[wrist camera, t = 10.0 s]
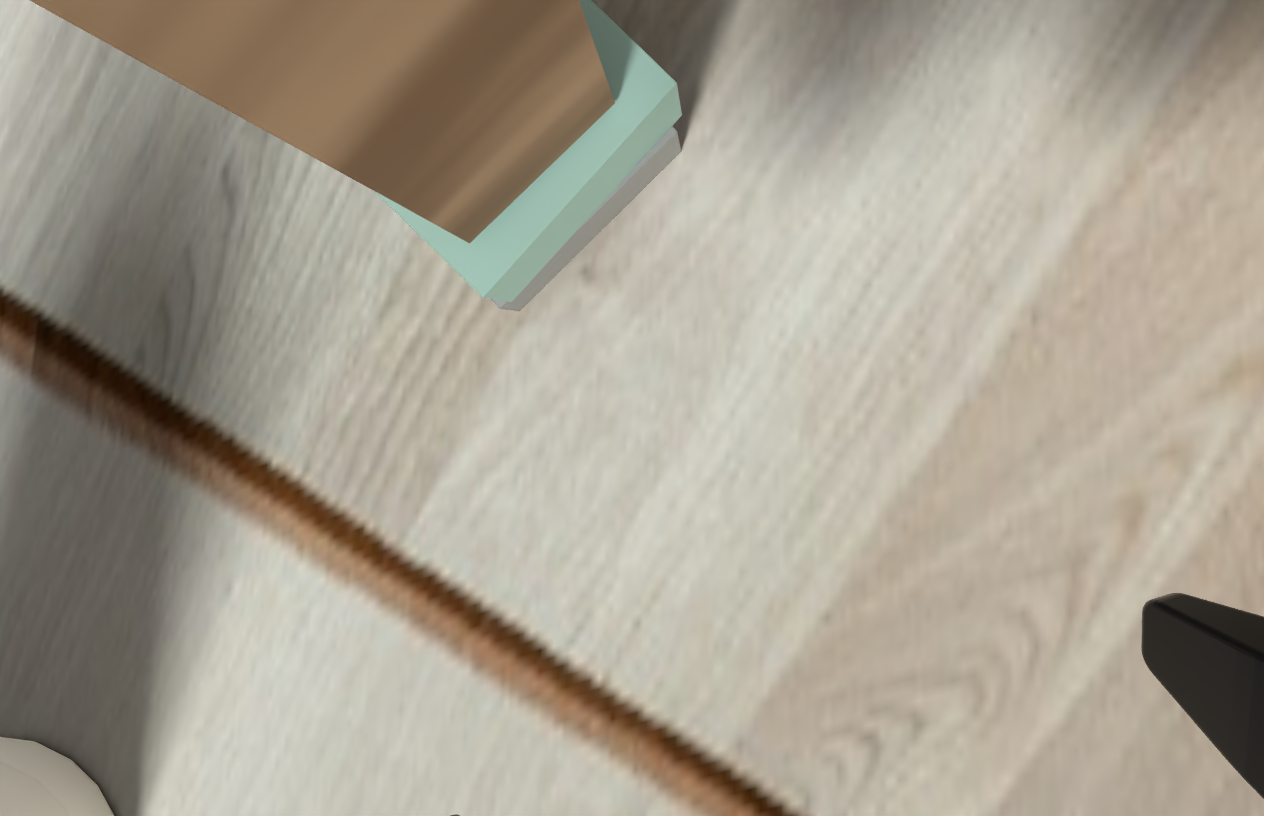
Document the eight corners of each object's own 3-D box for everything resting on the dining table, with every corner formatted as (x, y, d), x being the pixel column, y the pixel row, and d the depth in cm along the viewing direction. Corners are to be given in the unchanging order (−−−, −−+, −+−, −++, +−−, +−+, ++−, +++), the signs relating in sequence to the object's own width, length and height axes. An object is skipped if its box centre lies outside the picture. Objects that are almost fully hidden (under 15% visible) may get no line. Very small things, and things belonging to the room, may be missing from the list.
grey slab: (681, 154, 21) (677, 131, 18) (523, 311, 22) (499, 308, 19) (528, -11, 21) (503, -56, 18) (377, 153, 22) (335, 131, 19)
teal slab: (682, 115, 18) (676, 82, 16) (511, 301, 19) (482, 297, 17) (499, -63, 18) (467, -122, 16) (339, 133, 19) (286, 105, 17)
